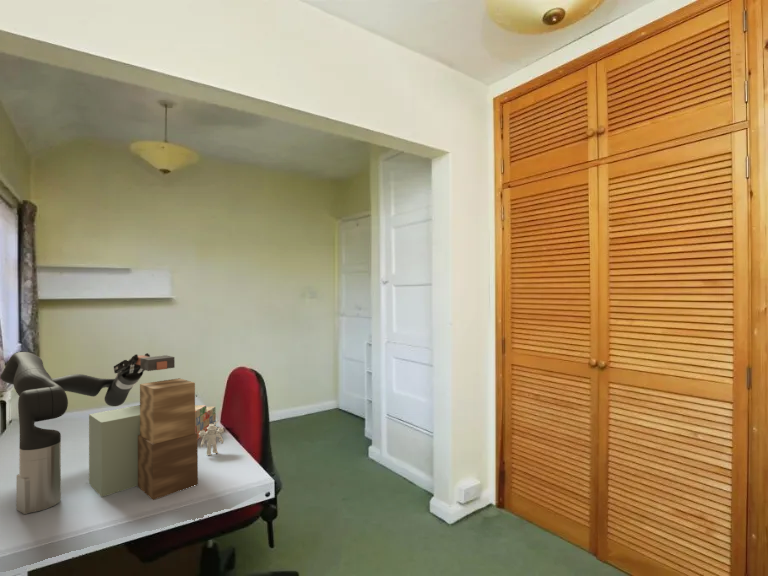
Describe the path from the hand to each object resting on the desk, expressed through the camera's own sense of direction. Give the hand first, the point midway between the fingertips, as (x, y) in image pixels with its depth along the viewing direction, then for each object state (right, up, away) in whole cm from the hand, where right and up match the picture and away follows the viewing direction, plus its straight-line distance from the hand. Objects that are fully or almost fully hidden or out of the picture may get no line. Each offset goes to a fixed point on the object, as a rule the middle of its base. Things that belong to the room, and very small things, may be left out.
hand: (142, 356), depth 148 cm
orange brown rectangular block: (+5, -2, -5) cm, 8 cm away
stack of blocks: (+5, -40, +34) cm, 53 cm away
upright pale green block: (+4, -38, -10) cm, 40 cm away
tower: (+17, -38, -16) cm, 45 cm away
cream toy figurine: (+20, -39, +10) cm, 45 cm away
